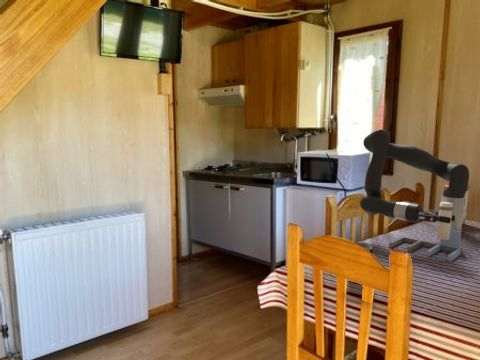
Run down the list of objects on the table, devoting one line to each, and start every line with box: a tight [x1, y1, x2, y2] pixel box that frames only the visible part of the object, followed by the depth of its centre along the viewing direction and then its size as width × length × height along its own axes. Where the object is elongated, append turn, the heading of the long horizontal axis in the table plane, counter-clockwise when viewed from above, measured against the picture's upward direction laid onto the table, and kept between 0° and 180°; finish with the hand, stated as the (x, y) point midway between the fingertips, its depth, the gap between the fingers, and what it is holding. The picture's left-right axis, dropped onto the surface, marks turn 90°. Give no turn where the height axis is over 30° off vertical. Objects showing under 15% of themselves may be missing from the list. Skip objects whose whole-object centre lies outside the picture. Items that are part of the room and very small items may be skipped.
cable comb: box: [388, 230, 465, 262], centre depth 159 cm, size 13×25×9 cm, turn 45°
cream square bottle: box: [436, 201, 453, 240], centre depth 151 cm, size 5×5×14 cm
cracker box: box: [440, 184, 470, 225], centre depth 201 cm, size 14×6×21 cm, turn 117°
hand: (452, 219), depth 149 cm, fingers closed on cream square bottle, 4 cm apart
